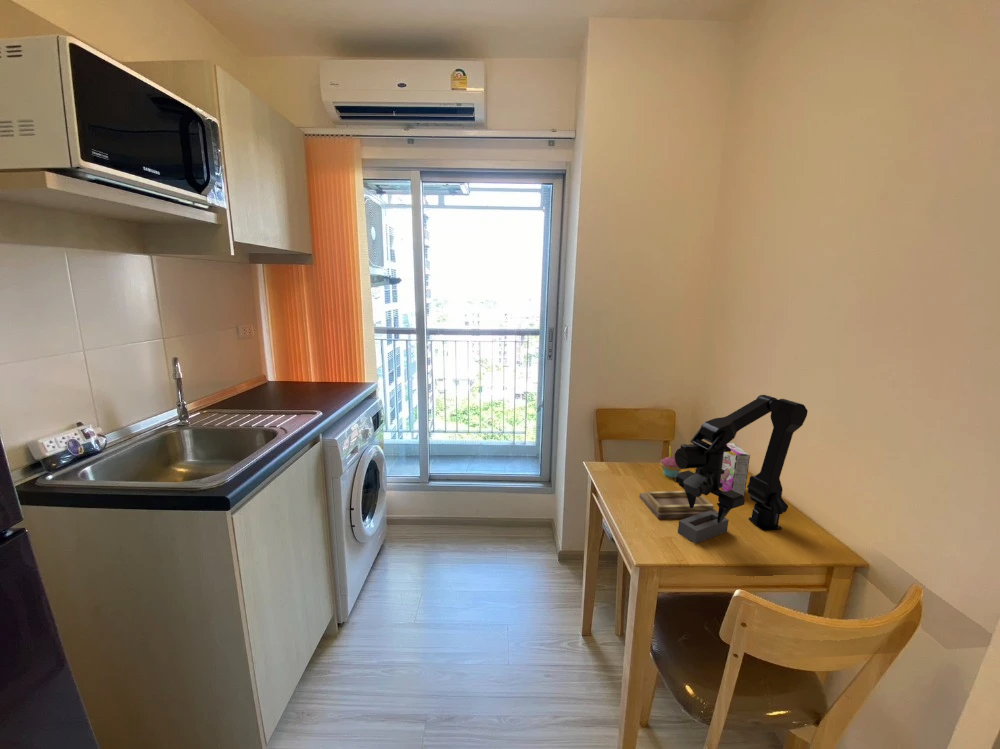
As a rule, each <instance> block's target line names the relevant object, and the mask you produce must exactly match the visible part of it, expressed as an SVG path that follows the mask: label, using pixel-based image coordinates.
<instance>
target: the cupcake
mask: <svg viewBox="0 0 1000 749" xmlns="http://www.w3.org/2000/svg"><path fill="white" fill-rule="evenodd" d="M668 449H669V450H668V452H669V456H665V457H663V458H661V459H660V463H659V466H660V467H662V468H661V469H662V471H663V475H664V476H666V477H668V478H676V475H677V474H678V473H680V471H682V470H683V469H680V468H679V467H678V466H677V464H676V462H675V456H674V457H673V456H672V446H671V445H669V447H668Z"/></svg>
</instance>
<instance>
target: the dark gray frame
mask: <svg viewBox="0 0 1000 749" xmlns="http://www.w3.org/2000/svg"><path fill="white" fill-rule="evenodd" d="M717 518H718V514H717V513H715V512H713V511H711V510H710V511H707V512H704V513H701V514H698V515H695V516H692V517H689V518H682V519H680V520H678V526H677V534H679V535H680V536H682V537H684V538H685V539H686V540H689V541H690V542H691V543H693V544H698V543H701V542H704V541H706V540H709V539H713V538H714V537H717V536H720V535H723V534H724V533H728V528H729V521H730V520H729V519H728V518H727V517H725V518H724V519H723V520H722V522H721V523H718V522H717Z"/></svg>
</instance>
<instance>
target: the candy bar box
mask: <svg viewBox="0 0 1000 749" xmlns="http://www.w3.org/2000/svg"><path fill="white" fill-rule="evenodd" d="M726 445H727V446H728V447H729V448H730V449H731V451H730V452H724V457H723V464H722V469H723V470H725V472H724V474H721V480H720V482H721V483H723V487H720V488H721V490H722V491H724V492H726V491H729V490H733V491H735V492H737V493H739V494H742V495H743V496H744V497H745V496H746V495H745V494H746V488H747V480H748V472H749V466H750V465H749V464H750V459H751V454H749V453H748V452H747V451H745V450H744V449H742V448H741V447H739V446H738V445H737V444H735V443H734V442H729V443H728V444H726Z"/></svg>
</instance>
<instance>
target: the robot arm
mask: <svg viewBox="0 0 1000 749" xmlns="http://www.w3.org/2000/svg"><path fill="white" fill-rule="evenodd" d="M769 413H770V421H771V423H772V424H771V425H772V426H773V428H772V432H771V435H770V439H769V442H768V445H767V448H766V451H765V455H764V458H763V462H762V464H761V465H762V466H761V469H760V471H759V473H757V474H756V475H751V476H750V477H749V481H748V483H747V485H746V488H747V494H749V499H750V501H752V502H754V506H753V509H752V512H751V517H748V520H749V521H750V522H752V524H753V525H756V526H757V527H758V528H759V529H760V530H762V531H772V530H773V531H774V530H775V531H776V530H778V531H779V530H780V531H781V530H782V529H783V527H782V526H781V525H779V521H780V516H781V515H783V513H786V512H787V510H788V508H789V504H787V502H786V501H785V500H784V499H783V498H782V496H783V495H782V494H783V485H782V483H781V479H780V477H781V475H782V470H783V467H784V465H785V464H784V463H785V462H786V461H785V460H786V458H787V454H788V451H789V448H790V445H791V442H792V438H793V435H794V433H795V432H796V431H797V430H799V429H800V428H801V427H802V426H803V425H804V422H805V420H806V418H807V417H808V409H807V408H806V405H804V404H803V403H800V402H796V401H792V400H790V399H786V398H779V399H778V398H777V397H774V396H771V395H767V394H760V395H758V396H757V397H756V399H754V400H752V401H750V402H749V403H747V404H745V405H744V406H742V407H740V408H738V409H737V410H735V411H734V412H731V413H729V414H728V415H726V416H723V417H716V418H711V419H710V420H707V421H704V422H703V423H702V424H701V426H700V428H699V429H698V431H697V432H696V433H695V434H694V436H693V437H692V438H691V439H690V441H689V442H690V444H687V443H684V444H683V443H682V444H680V448H678V449H677V450H676V451H675V453H674V457H675V462H676V464H677V466H678V467H679V468H680V469H682V470H684V471H681V472H680V471H679V473H678V474H677V475H676V477H675V479H674V480H675V482H676V483H677V484H678V486H679V487H681V488H682V489H683V491H685V492H686V495H687V499H688V502H689V506H690V508H693V507H694V504H695V500H696V497H700V496H701V495H702V496H706V497H707V496H708V495H710V494H712V495H715V496H716V497H718V502H717V503H716V505H717V506H718V511H717V512H718V518H717V522H718V523H721V522H722V520H723V519H724V518H726V517H727V515H728V513H729V512H730V511H731V510H734V509H735V508H739V507H741V506H744V505H745V500H746V499H745V498H746V497H745V496H743V495H742V494H739V493H737V492H735V491H733V490H729V491H726V492H725V491H724V490H723V489H720V488H721V487H723V483H721V482H720V480H721V474H724V472H725V470H723V469H722V464H723V457H724V452H730V451H731V449H730V448H729V447H728V446H727V445H726V444H728V443H731V441H733V440H734V439H735V437H736V435H737V433H738V432H739V431H741V430H742V429H743V428H745V427H747V426H749V425H750V424H752V423H754V422H755V421H757V420H759V419H761V418H763V417H764V416H766V415H767V414H769ZM703 440H705V441H703ZM687 469H688V470H687ZM689 469H695V472H693V471H691V470H689Z"/></svg>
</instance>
